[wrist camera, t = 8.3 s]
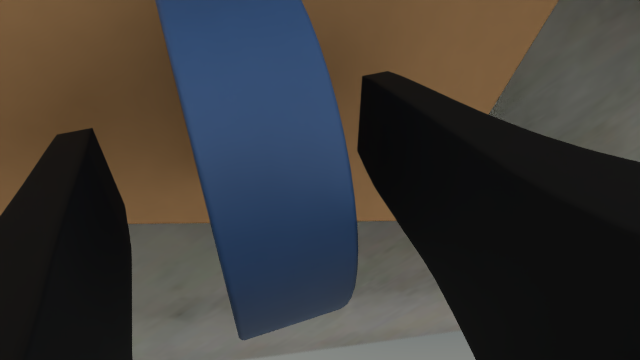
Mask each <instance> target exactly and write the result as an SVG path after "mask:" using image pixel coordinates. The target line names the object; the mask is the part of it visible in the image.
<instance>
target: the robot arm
mask: <svg viewBox="0 0 640 360" xmlns="http://www.w3.org/2000/svg"><path fill="white" fill-rule="evenodd" d="M357 152H358V154H359V156H360V158H361V160H362V163H363V165H364V167H365V169H366V171H367V173H368V175H369V177H370V179H371V181H372V183H373V185H374V187H375V189H376V190H377V192H378V193H379V195H380V196H381V198H382V199H383V201H384V202H385V204H386V205H387V207H388V208H389V210H390V211H391V213H392V214H393V216H394V217H395V219H396V220H397V222H398V223H399V225H400V226H401V228H402V229H403V231H404V232H405V234H406V235H407V237H408V238H409V239H410V241H411V242H412V244H413V245H414V247H415V248H416V250H417V251H418V253H419V254H420V256H421V257H422V259H423V260H424V262H425V263H426V265H427V267H428V268H429V270H430V272H431V273H432V275H433V276H434V278H435V280H436V282H437V284H438V286H439V288H440V289H441V291H442V293H443V295H444V297H445V299H446V301H447V303H448V305H449V307H450V308H451V310H452V312H453V314H454V316H455V318H456V320H457V322H458V324H459V326H460V328H461V330H462V332H463V334H464V336H465V338H466V340H467V342H468V344H469V346H470V348H471V351H472V352H473V354H474V357H475V359H476V360H640V162H637V161H633V160H629V159H624V158H620V157H616V156H612V155H608V154H604V153H600V152H596V151H593V150H589V149H585V148H582V147H578V146H575V145H572V144H569V143H565V142H562V141H559V140H556V139H553V138H550V137H546V136H543V135H540V134H537V133H535V132H532V131H529V130H526V129H523V128H521V127H518V126H516V125H513V124H511V123H508V122H506V121H503V120H500V119H498V118H495V117H493V116H490V115H488V114H486V113H483V112H481V111H479V110H476V109H474V108H472V107H470V106H467V105H465V104H463V103H461V102H458V101H456V100H454V99H452V98H450V97H447V96H445V95H443V94H441V93H439V92H437V91H434V90H432V89H430V88H428V87H426V86H423V85H421V84H419V83H417V82H415V81H412V80H410V79H408V78H405V77H403V76H401V75H398V74H395V73H392V72H390V71H385V72H380V73H375V74H370V75H364V76H362V85H361V100H360V115H359V130H358V145H357ZM0 360H132V256H131V243H130V235H129V228H128V222H127V215H126V208H125V204H124V202H123V200H122V197H121V195H120V192H119V190H118V188H117V185H116V183H115V180H114V178H113V176H112V173H111V171H110V169H109V166H108V164H107V161H106V159H105V157H104V154H103V152H102V150H101V147H100V145H99V142H98V140H97V138H96V135H95V133H94V131H93V128H89V129H83V130H78V131H73V132H68V133H63V134H57V135H56V136H55V138H54V139H53V140H52V142H51V143H50V145H49V146H48V148H47V149H46V151H45V152H44V153H43V155H42V156H41V158H40V159H39V161H38V162H37V164H36V165H35V167H34V168H33V170H32V171H31V173H30V174H29V176H28V177H27V179H26V180H25V182H24V183H23V185H22V186H21V187H20V189H19V190H18V192H17V193H16V194H15V196H14V197H13V199H12V200H11V201H10V203H9V204H8V206H7V207H6V208H5V210H4V211H3V213H2V214H1V215H0Z"/></svg>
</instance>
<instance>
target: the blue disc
mask: <svg viewBox="0 0 640 360" xmlns="http://www.w3.org/2000/svg"><path fill="white" fill-rule="evenodd" d="M155 2H156V6H157V10H158V14H159V18H160V22H161V26H162V30H163V34H164V38H165V43H166V47H167V51H168V55H169V59H170V63H171V67H172V71H173V75H174V79H175V83H176V87H177V91H178V95H179V99H180V103H181V107H182V111H183V115H184V119H185V123H186V127H187V131H188V135H189V139H190V143H191V147H192V151H193V155H194V159H195V163H196V167H197V171H198V175H199V179H200V184H201V188H202V192H203V196H204V200H205V204H206V208H207V212H208V216H209V220H210V224H211V228H212V232H213V236H214V240H215V244H216V248H217V252H218V256H219V260H220V264H221V268H222V272H223V276H224V280H225V284H226V288H227V292H228V296H229V300H230V304H231V308H232V312H233V316H234V320H235V324H236V328H237V332H238V335H239V338H240V339H241V340H247V339H250V338H253V337H256V336H259V335H262V334H265V333H268V332H271V331H275V330H278V329H281V328H284V327H287V326H290V325H293V324H296V323H299V322H302V321H305V320H308V319H311V318H314V317H317V316H320V315H323V314H326V313H329V312H332V311H335V310H339V309H341V308H342V307H344V306H345V305H346V304H348V302H349V300H350V299H351V297H352V294H353V291H354V288H355V283H356V276H357V265H358V233H357V216H356V205H355V195H354V188H353V181H352V174H351V167H350V162H349V156H348V151H347V145H346V140H345V135H344V130H343V126H342V122H341V117H340V113H339V109H338V104H337V101H336V97H335V93H334V90H333V86H332V82H331V79H330V75H329V72H328V69H327V65H326V62H325V59H324V56H323V53H322V50H321V47H320V44H319V41H318V39H317V36H316V34H315V31H314V28H313V26H312V23H311V21H310V18H309V16H308V13H307V11H306V9H305V7H304V5H303V3H302V0H155Z"/></svg>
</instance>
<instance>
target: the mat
mask: <svg viewBox="0 0 640 360" xmlns="http://www.w3.org/2000/svg"><path fill="white" fill-rule="evenodd" d="M557 2H558V0H302V3H303V5H304V7H305V9H306V11H307V13H308V16H309V18H310V21H311V23H312V26H313V28H314V31H315V34H316V36H317V39H318V41H319V44H320V47H321V50H322V53H323V56H324V59H325V62H326V65H327V69H328V72H329V75H330V79H331V82H332V86H333V90H334V93H335V97H336V101H337V104H338V109H339V113H340V117H341V122H342V126H343V130H344V135H345V140H346V145H347V151H348V156H349V162H350V167H351V174H352V181H353V188H354V195H355V205H356V216H357V221H397V220H396V219H395V217H394V216H393V214H392V213H391V211H390V210H389V208H388V207H387V205H386V204H385V202H384V201H383V199H382V198H381V196H380V195H379V193H378V192H377V190H376V189H375V187H374V185H373V183H372V181H371V179H370V177H369V175H368V173H367V171H366V169H365V167H364V165H363V163H362V160H361V158H360V156H359V154H358V152H357V145H358V130H359V115H360V100H361V85H362V76H364V75H370V74H375V73H380V72H385V71H390V72H392V73H395V74H398V75H401V76H403V77H405V78H408V79H410V80H412V81H415V82H417V83H419V84H421V85H423V86H426V87H428V88H430V89H432V90H434V91H437V92H439V93H441V94H443V95H445V96H447V97H450V98H452V99H454V100H456V101H458V102H461V103H463V104H465V105H467V106H470V107H472V108H474V109H476V110H479V111H481V112H483V113H486V114H489V113H490V111H491V109H492V108H493V106H494V105H495V103H496V101H497V100H498V98H499V96H500V95H501V93H502V92H503V90H504V88H505V87H506V85H507V83H508V82H509V80H510V79H511V77H512V75H513V74H514V72H515V70H516V69H517V67H518V66H519V64H520V62H521V61H522V59H523V57H524V56H525V54H526V53H527V51H528V49H529V48H530V46H531V44H532V43H533V41H534V39H535V38H536V36H537V35H538V33H539V31H540V30H541V28H542V26H543V25H544V23H545V22H546V20H547V18H548V17H549V15H550V13H551V12H552V10H553V9H554V7H555V5H556V4H557ZM89 128H93V131H94V133H95V135H96V138H97V140H98V142H99V145H100V147H101V150H102V152H103V154H104V157H105V159H106V161H107V164H108V166H109V169H110V171H111V173H112V176H113V178H114V180H115V183H116V185H117V188H118V190H119V192H120V195H121V197H122V200H123V202H124V204H125V208H126V215H127V222H128V224H159V223H210V220H209V216H208V212H207V208H206V204H205V200H204V196H203V192H202V188H201V184H200V179H199V175H198V171H197V167H196V163H195V159H194V155H193V151H192V147H191V143H190V139H189V135H188V131H187V127H186V123H185V119H184V115H183V111H182V107H181V103H180V99H179V95H178V91H177V87H176V83H175V79H174V75H173V71H172V67H171V63H170V59H169V55H168V51H167V47H166V43H165V38H164V34H163V30H162V26H161V22H160V18H159V14H158V10H157V6H156V2H155V0H0V215H1V214H2V213H3V211H4V210H5V208H6V207H7V206H8V204H9V203H10V201H11V200H12V199H13V197H14V196H15V194H16V193H17V192H18V190H19V189H20V187H21V186H22V185H23V183H24V182H25V180H26V179H27V177H28V176H29V174H30V173H31V171H32V170H33V168H34V167H35V165H36V164H37V162H38V161H39V159H40V158H41V156H42V155H43V153H44V152H45V151H46V149H47V148H48V146H49V145H50V143H51V142H52V140H53V139H54V138H55V136H56V135H57V134H63V133H68V132H73V131H78V130H83V129H89Z"/></svg>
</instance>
